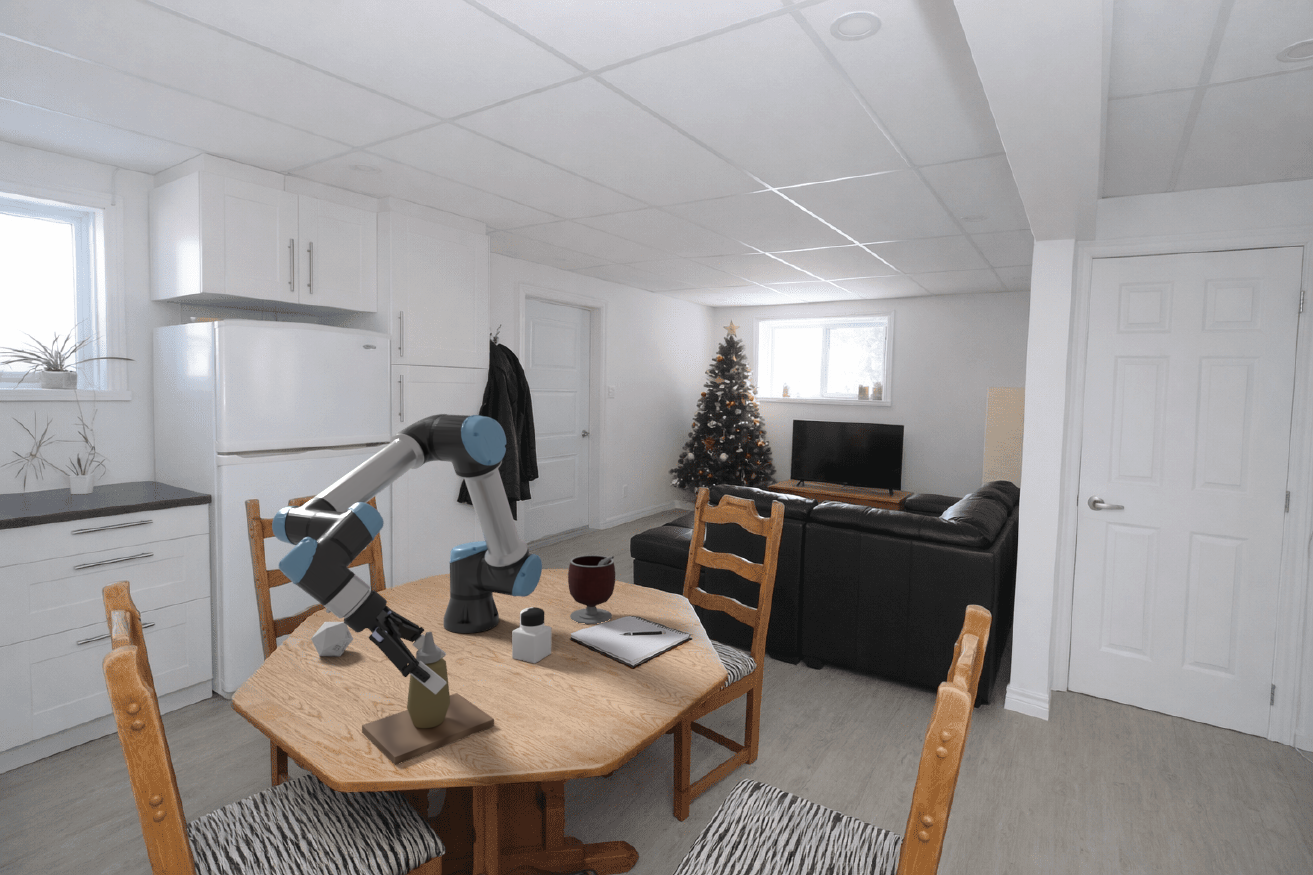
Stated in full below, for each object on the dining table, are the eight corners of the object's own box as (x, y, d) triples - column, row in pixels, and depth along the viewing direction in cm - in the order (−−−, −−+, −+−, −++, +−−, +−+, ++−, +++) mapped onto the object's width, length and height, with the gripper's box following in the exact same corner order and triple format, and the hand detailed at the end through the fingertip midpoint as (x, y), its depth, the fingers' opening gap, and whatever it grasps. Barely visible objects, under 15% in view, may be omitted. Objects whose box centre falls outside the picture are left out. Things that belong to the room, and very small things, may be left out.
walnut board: (457, 699, 141) (457, 692, 140) (494, 725, 130) (494, 718, 130) (362, 732, 126) (362, 725, 126) (394, 765, 116) (394, 757, 116)
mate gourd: (557, 617, 192) (558, 550, 191) (591, 606, 203) (592, 542, 201) (594, 630, 182) (595, 560, 181) (628, 618, 193) (629, 552, 191)
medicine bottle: (551, 653, 166) (552, 607, 165) (535, 664, 160) (535, 616, 159) (528, 648, 169) (529, 603, 168) (511, 658, 163) (511, 611, 162)
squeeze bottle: (413, 711, 132) (413, 625, 130) (454, 711, 133) (454, 624, 131) (401, 732, 124) (401, 641, 122) (444, 732, 125) (445, 640, 123)
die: (325, 666, 157) (351, 631, 159) (297, 646, 158) (324, 611, 160) (340, 665, 165) (365, 631, 167) (314, 645, 166) (339, 612, 168)
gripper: (350, 598, 134) (428, 661, 139) (330, 644, 110) (425, 718, 116) (378, 571, 135) (454, 635, 141) (364, 611, 111) (456, 685, 117)
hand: (441, 672), depth 128 cm, fingers open, 13 cm apart
